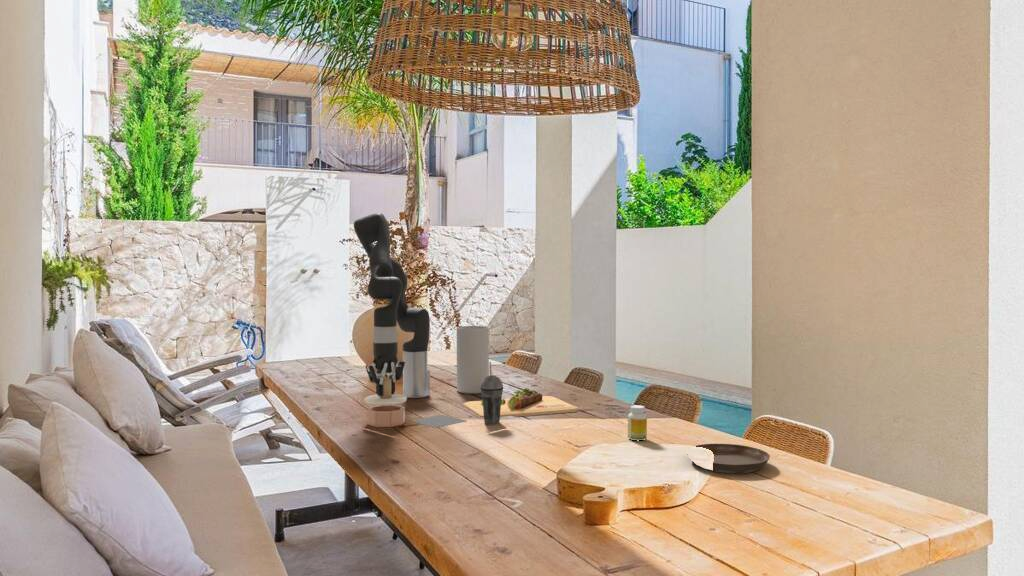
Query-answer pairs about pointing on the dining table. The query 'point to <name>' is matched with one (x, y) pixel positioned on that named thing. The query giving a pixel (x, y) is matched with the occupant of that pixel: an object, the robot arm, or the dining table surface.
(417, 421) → the mat
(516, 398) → the cutting board
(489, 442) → the dining table surface
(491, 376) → the beverage cup
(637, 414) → the supplement bottle
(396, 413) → the bowl
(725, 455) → the plant saucer
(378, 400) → the lid
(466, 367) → the cylinder vase
